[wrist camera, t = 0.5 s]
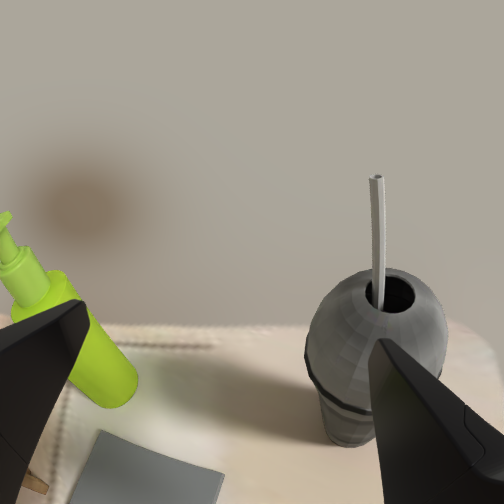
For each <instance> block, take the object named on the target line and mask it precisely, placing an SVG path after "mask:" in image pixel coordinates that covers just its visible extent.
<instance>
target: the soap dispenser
mask: <svg viewBox="0 0 504 504" xmlns="http://www.w3.org/2000/svg"><path fill="white" fill-rule="evenodd" d="M11 219H12V215H11V213H10V211H6V212H3V213H0V261H1V262H0V280H1V281H2V283H3V284H4V286H5V287H6V288H7V290H8V291H9V292H10V294H11V295H12V297H13V298H14V299H15V301H14V303H13V305H12V309H11V318H12V320H13V322H14V323H17V322H19V321H21V320H24V319H26V318H28V317H31V316H33V315H35V314H38V313H40V312H43V311H45V310H47V309H50V308H52V307H55V306H57V305H59V304H62V303H64V302H67V301H69V300H72V299H77V300H82V299H81V298H80V296H79V295H78V293H77V292H76V290H75V289H74V287H73V286H72V284H71V283H70V281H69V280H68V278H67V277H66V275H65V274H64V273H63V272H61V271H59V270H52V271H48V272H45V271H44V269H43V267H42V266H41V264H40V263H39V261H38V259H37V258H36V256H35V255H34V253H33V251H32V250H31V248H30V247H29V246H19V247H17V245H16V244H15V242H14V240H13V239H12V237H11V235H10V233H9V232H8V230H7V228H6V225H7V224H8V222H9V221H10V220H11ZM86 307H87V306H86ZM87 311H88V315H89V319H90V328H89V331H88V333H87V336H86V338H85V341H84V343H83V345H82V348H81V350H80V353H79V355H78V358H77V360H76V362H75V365H74V367H73V369H72V371H71V373H70V375H69V377H68V379H69V380H70V381H71V382H72V383H73V384H74V385H75V386H76V387H77V388H79V389H80V390H81V391H82V392H83V393H84V394H86V395H87V396H88V397H89V398H90V399H91V400H93V401H94V402H95V403H96V404H98V405H99V406H101V407H103V408H109V409H111V408H117V407H119V406H122V405H123V404H125V403H126V402H127V401H129V400H130V398H131V397H132V396H133V394H134V393H135V391H136V388H137V384H138V375H137V372H136V370H135V368H134V367H133V366H132V364H131V363H130V362H129V361H128V360H127V358H126V357H125V356H124V355H123V354H122V352H121V351H120V350H119V349H118V347H117V346H116V345H115V344H114V342H113V341H112V340H111V339H110V337H109V336H108V335H107V334H106V332H105V331H104V330H103V328H102V327H101V326H100V324H99V323H98V322H97V320H96V319H95V318H94V316H93V315H92V313H91V312H90V311H89V309H88V308H87Z"/></svg>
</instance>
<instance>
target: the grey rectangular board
mask: <svg viewBox="0 0 504 504" xmlns="http://www.w3.org/2000/svg"><path fill="white" fill-rule="evenodd" d="M224 476H225V474H223V473H220V472H216V471H213V470H209V469H205V468H202V467H198V466H195V465H191V464H188V463H185V462H182V461H179V460H176V459H173V458H170V457H167V456H164V455H161V454H158V453H156V452H153V451H150V450H148V449H145V448H143V447H140V446H138V445H135V444H133V443H130V442H128V441H126V440H123V439H121V438H119V437H116V436H114V435H112V434H110V433H108V432H106V431H103V430H101V432H100V434H99V436H98V439H97V441H96V443H95V445H94V447H93V449H92V452H91V454H90V456H89V458H88V461H87V463H86V465H85V467H84V470H83V472H82V474H81V477H80V479H79V481H78V484H77V486H76V488H75V491H74V493H73V496H72V498H71V501H70V503H69V504H216V501H217V498H218V495H219V492H220V488H221V485H222V482H223V479H224Z"/></svg>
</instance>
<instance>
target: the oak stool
mask: <svg viewBox="0 0 504 504" xmlns="http://www.w3.org/2000/svg"><path fill="white" fill-rule="evenodd" d="M30 472H31V471H30V470H29V469H27V471H26V474H25V477H24V479H23V482H22V486H24V487H26V488H29V489H31V490H34V491H36V492H39V493H42V494H44V495H46V492H47V490H48V487H49V486H48V485H47V484H46V483H44V482H43V481H42V480H39V479H37V478H35V477H33V476H30Z"/></svg>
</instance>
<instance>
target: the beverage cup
mask: <svg viewBox="0 0 504 504" xmlns="http://www.w3.org/2000/svg"><path fill="white" fill-rule="evenodd" d="M369 183H370V196H371V218H372V269H369V270H365V271H361V272H358V273H356V274H354V275H352V276H350V277H348V278H346V279H345V280H343V281H341V282H340V283H339V284H338V285H337V286H336V287H335V288H334V289H333V290H332V291H331V292H330V293H329V294H328V295H327V296H325V297H324V299H323V300H322V302H321V304H320V305H319V308H318V310H317V311H316V313H315V315H314V317H313V319H312V322H311V325H310V329H309V333H308V335H307V337H306V344H305V353H304V359H305V363H306V367H307V371H308V375H309V377H310V379H311V380H312V382H313V383H314V385H315V387H316V389H317V391H318V393H319V399H320V405H321V411H322V417H323V422H324V426H325V429H326V432H327V434H328V436H329V437H330V439H331V440H332V441H333V442H335V443H336V444H337V445H340V446H343V447H346V448H355V447H359V446H362V445H364V444H366V443H368V442H369V441H371V440H372V439H373V438H375V437H376V435H375V429H374V423H373V417H372V411H371V402H370V387H369V374H368V359H369V356H370V354H371V352H372V349H373V347H374V344H375V342H376V340H377V339H378V338H390V339H392V340H393V341H394V342H395V343H396V344H398V345H399V346H400V347H401V348H402V349H403V350H405V351H406V352H407V353H408V354H409V355H410V356H412V357H413V358H414V359H415V360H416V361H417V362H419V363H420V364H421V365H422V366H423V367H424V368H425V369H427V370H428V371H429V372H430V373H431V374H432V375H434V376H435V377H436V378H437V379H439V377H440V375H441V372H442V367H443V363H444V360H445V356H446V350H447V342H448V327H447V322H446V318H445V314H444V311H443V308H442V305H441V304H440V302H439V301H438V299H437V297H436V296H435V294H434V293H433V291H432V290H431V289H430V288H429V287H428V286H427V285H426V284H425V283H423V282H422V281H421V280H420V279H419V278H417V277H415V276H413V275H411V274H409V273H406V272H404V271H401V270H397V269H392V268H385V258H386V256H385V255H386V219H385V218H386V217H385V189H384V176H383V175H381V174H373V175H370V176H369Z"/></svg>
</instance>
